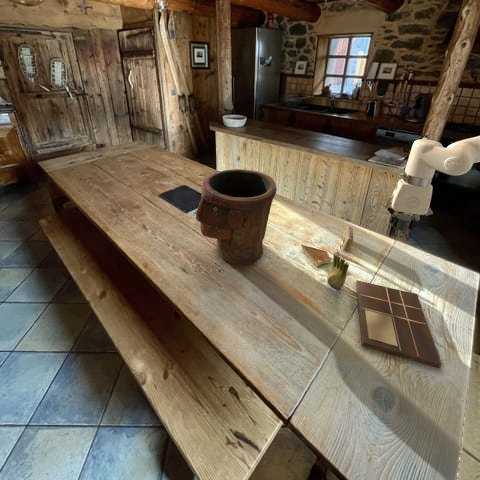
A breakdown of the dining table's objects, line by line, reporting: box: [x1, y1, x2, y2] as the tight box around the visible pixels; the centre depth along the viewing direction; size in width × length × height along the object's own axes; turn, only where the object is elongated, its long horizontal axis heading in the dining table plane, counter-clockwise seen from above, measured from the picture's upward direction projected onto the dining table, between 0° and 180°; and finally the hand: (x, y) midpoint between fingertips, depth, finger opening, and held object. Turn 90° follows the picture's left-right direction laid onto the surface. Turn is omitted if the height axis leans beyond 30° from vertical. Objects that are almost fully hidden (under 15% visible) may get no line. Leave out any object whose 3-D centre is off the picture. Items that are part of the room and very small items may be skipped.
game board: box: [355, 280, 442, 369], centre depth 78 cm, size 18×22×2 cm
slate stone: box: [394, 212, 412, 232], centre depth 91 cm, size 5×5×4 cm
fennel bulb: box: [326, 252, 350, 290], centre depth 87 cm, size 6×5×12 cm
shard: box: [300, 244, 333, 267], centre depth 102 cm, size 11×8×2 cm
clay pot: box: [195, 168, 278, 266], centre depth 97 cm, size 25×29×30 cm
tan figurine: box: [336, 225, 354, 255], centre depth 106 cm, size 7×4×12 cm
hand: (401, 225), depth 91 cm, fingers closed on slate stone, 4 cm apart
